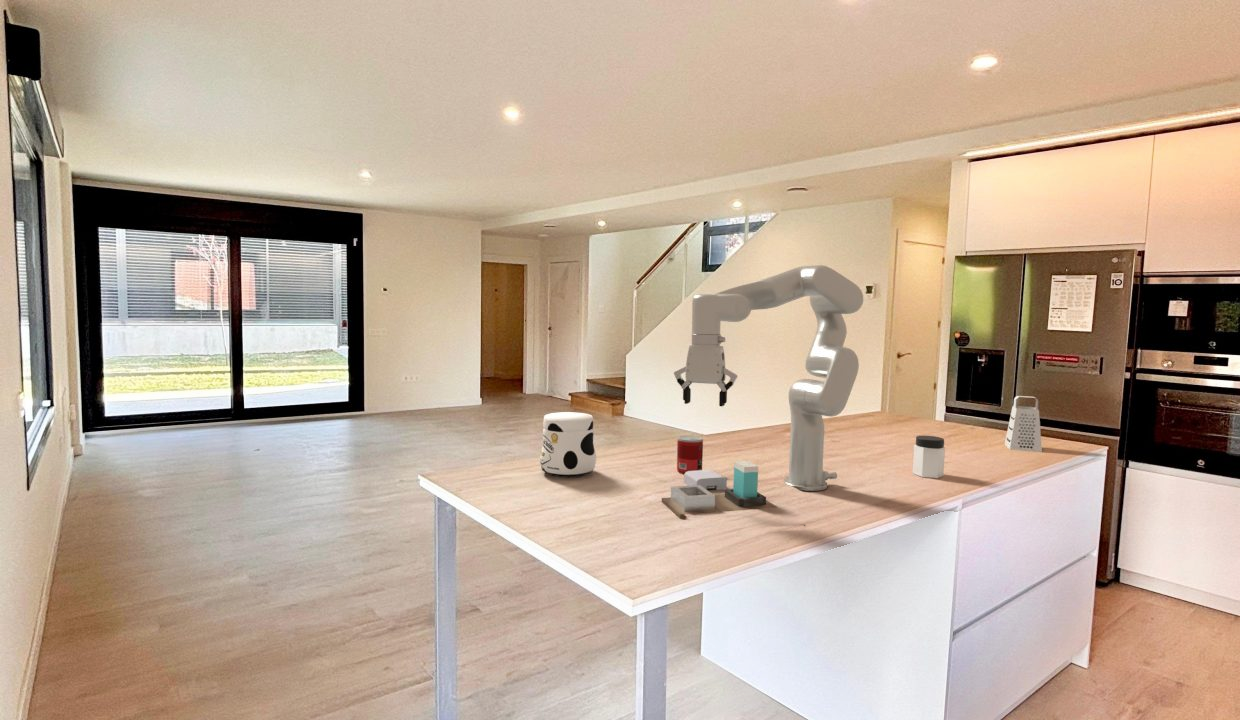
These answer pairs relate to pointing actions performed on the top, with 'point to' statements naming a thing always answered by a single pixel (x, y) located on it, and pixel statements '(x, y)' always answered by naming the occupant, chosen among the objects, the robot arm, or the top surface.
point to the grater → (1024, 428)
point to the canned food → (689, 453)
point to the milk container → (568, 444)
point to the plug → (745, 479)
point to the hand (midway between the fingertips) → (704, 404)
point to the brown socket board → (725, 504)
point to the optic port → (692, 498)
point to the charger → (705, 479)
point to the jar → (929, 457)
